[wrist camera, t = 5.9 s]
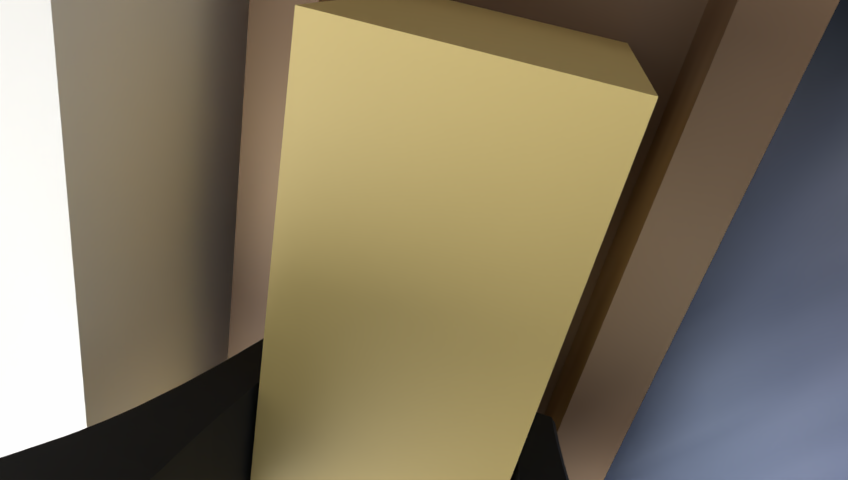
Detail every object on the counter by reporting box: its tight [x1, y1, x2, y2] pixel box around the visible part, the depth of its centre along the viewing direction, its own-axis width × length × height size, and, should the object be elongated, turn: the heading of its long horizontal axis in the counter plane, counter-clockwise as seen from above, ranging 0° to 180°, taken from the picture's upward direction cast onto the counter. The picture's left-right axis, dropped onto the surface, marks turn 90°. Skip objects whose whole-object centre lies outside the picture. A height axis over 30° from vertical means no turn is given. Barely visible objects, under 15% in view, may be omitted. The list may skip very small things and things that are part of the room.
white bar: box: [0, 0, 249, 458], centre depth 13 cm, size 14×4×5 cm, turn 168°
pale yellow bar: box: [250, 0, 658, 480], centre depth 12 cm, size 14×4×5 cm, turn 168°
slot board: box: [228, 0, 840, 480], centre depth 14 cm, size 22×16×4 cm
